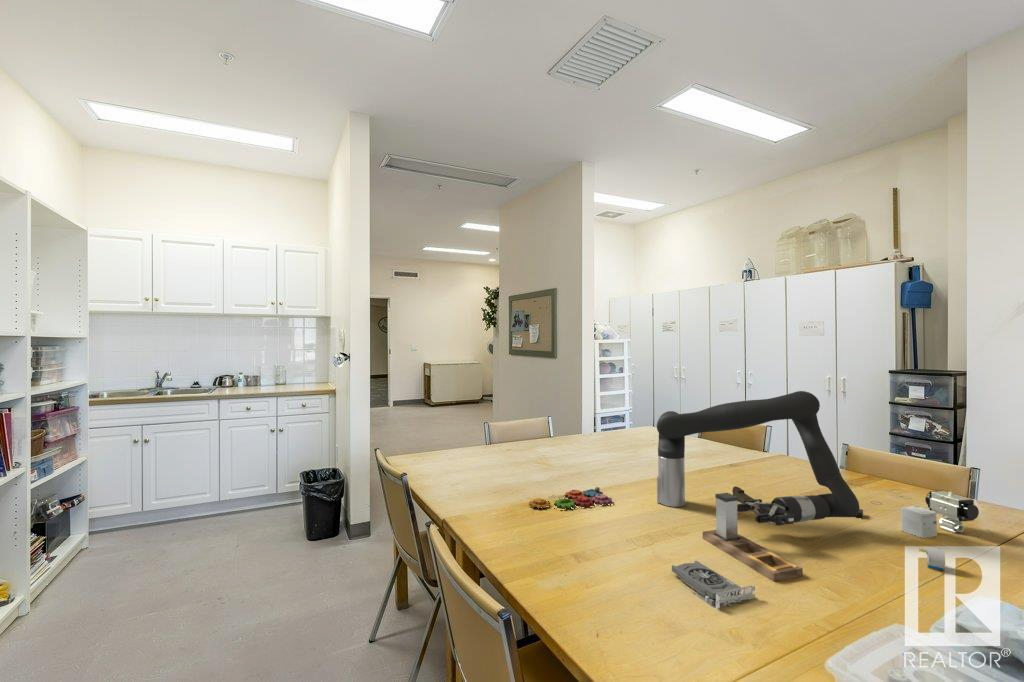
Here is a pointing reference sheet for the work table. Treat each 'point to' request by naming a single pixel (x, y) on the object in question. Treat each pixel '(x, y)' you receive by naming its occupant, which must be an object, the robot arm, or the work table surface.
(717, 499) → the peg
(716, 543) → the rail
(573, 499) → the gear puzzle
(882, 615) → the work table surface
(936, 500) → the pneumatic valve
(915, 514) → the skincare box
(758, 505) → the robot arm
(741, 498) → the hand tool
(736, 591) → the graphics card
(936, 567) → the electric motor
